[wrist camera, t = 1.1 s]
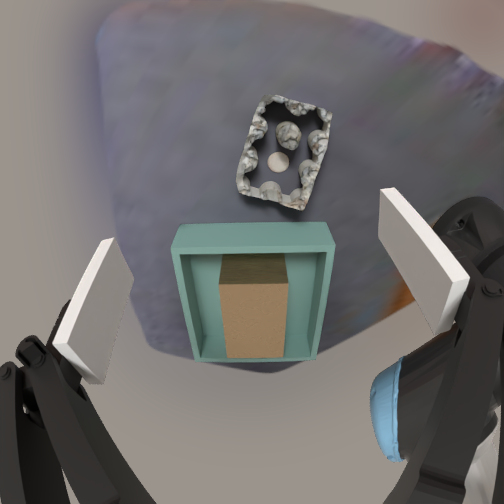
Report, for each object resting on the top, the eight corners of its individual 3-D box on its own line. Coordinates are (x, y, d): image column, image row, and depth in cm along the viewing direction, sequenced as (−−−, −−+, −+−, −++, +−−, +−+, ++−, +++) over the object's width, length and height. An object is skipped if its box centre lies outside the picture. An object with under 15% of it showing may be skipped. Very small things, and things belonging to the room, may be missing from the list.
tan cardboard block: (283, 250, 36) (288, 283, 31) (280, 323, 43) (283, 357, 38) (223, 251, 37) (218, 284, 32) (229, 324, 43) (227, 358, 38)
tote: (325, 221, 35) (335, 245, 31) (311, 333, 45) (315, 359, 41) (180, 224, 35) (170, 247, 31) (199, 335, 46) (195, 361, 41)
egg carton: (298, 200, 34) (303, 217, 31) (232, 181, 33) (229, 197, 30) (333, 111, 29) (344, 117, 25) (261, 86, 27) (263, 89, 24)
